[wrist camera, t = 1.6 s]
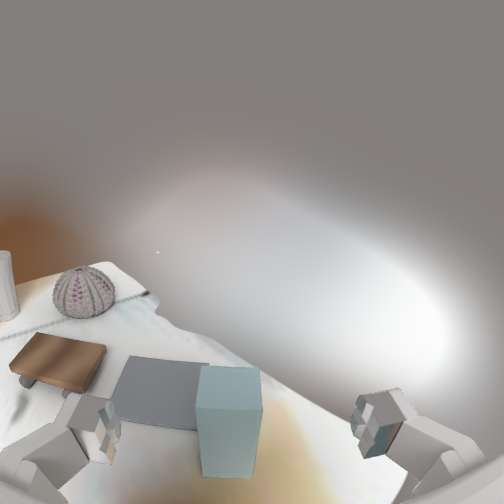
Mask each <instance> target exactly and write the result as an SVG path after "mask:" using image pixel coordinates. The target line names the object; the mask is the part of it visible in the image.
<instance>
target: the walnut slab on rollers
mask: <svg viewBox="0 0 504 504" xmlns="http://www.w3.org/2000/svg"><path fill="white" fill-rule="evenodd" d="M106 352H107V350H106V346H105V345H102V344H96V343H90V342H84V341H79V340H73V339H68V338H63V337H58V336H53V335H48V334H44V333H39V332H36V334H35V335H34V336H33V337H32V338H31V339H30V340H29V342H28V343H27V344H26V345H25V346H24V347H23V349H22V350H21V351H20V352H19V353H18V354H17V356H16V357H15V358H14V359H13V361H12V362H11V363H10V364H9V367H10V369H11V371H12V372H14V373H17V374H20V375H21V376H20V378H19V382H20V383H21V385H22V386H24V387H25V388H27V389H29V388H30V387H31V385H32V384H33V382H34V381H35V380H38V381H41V382H44V383H48V384H51V385H55V386H58V387H62V388H65V389H64V391H63V393H62V394H63V396H64V398H65V399H67V397H68V395H69V394H70V393H72V392H73V393H77V394H80V392H82V393H85V391H86V389H87V387H88V385H89V384H90V382H91V380H92V378H93V376H94V374H95V372H96V370H97V369H98V367H99V365H100V363H101V361H102V359H103V358H104V356H105V354H106Z"/></svg>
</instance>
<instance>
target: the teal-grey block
mask: <svg viewBox="0 0 504 504" xmlns="http://www.w3.org/2000/svg"><path fill="white" fill-rule="evenodd" d="M195 411H196V422H197V432H198V441H199V450H200V459H201V467H202V475H203V477H216V478H245V479H252V476H253V470H254V464H255V457H256V451H257V445H258V439H259V432H260V425H261V419H262V412H263V407H262V395H261V384H260V372H259V368H243V367H220V366H204V365H201V371H200V377H199V384H198V391H197V398H196V405H195Z"/></svg>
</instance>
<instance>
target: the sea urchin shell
mask: <svg viewBox="0 0 504 504" xmlns="http://www.w3.org/2000/svg"><path fill="white" fill-rule="evenodd" d="M114 288H115V286H113V283H112V282H111V280H110V279H109V278H108V277H107V276H106V275H105V274H104V273H102V271H99V270H98V269H95V268H91V267H88V266H86V265H85V266H83V265H81V266H78V267H76V268H73V269H70V270H68V271H66V272H64V273H63V274H62V275H61V276H60V278H59V279H58V281H57V283H56V284H55V288H54V291H53V292H54V293H53V301H54V302H53V303H54V304H55V307H56V308H57V309H58V310H59V311H60V312H61V313H63V314H65V315H67V316H73V317H74V318H83V317H84V318H90V317H91V316H92V315H95V316H96V315H97V314H101V313H102V312H103V311H106V310H107V309H109V307H110V306H111V305H112V302H113V301H114V299H113V298H114V297H115V295H114V292H115V290H114Z"/></svg>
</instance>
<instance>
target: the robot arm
mask: <svg viewBox="0 0 504 504" xmlns="http://www.w3.org/2000/svg"><path fill="white" fill-rule="evenodd" d="M356 405H357V407H358V408H357V409H356V410H355V411H353V413H352V416H351V429H352V432H353V435H354V436H355V437H356V438H358V439H359V440H360V441H359V444H358V447H359V449H360V451H361V454H362V456H363V458H364V459H367V458H371V457H376V456H380V455H384V454H386V456H387V457H389V458H390V459H391V460H393V461H394V462H395V463H397V464H398V465H399V466H401V467H402V468H404V469H405V470H406V471H408V472H409V473H411V474H412V475H413V476H415V477H416V478H418V479H419V480H421V481H420V482H419V484H418V485H417V486H416V487H415V488H414V490H413V491H412V494H413V496H414V498H413V499H411V500H408V501H406V502H403V503H400V504H504V452H503V453H501V454H500V455H498V456H496V457H495V458H493V459H492V460H490V461H487V459H486V458H485V456H484V455H483V453H482V452H481V451H480V449H479V448H478V446H477V445H476V444H475V442H474V441H473V439H471V438H469V437H467V436H464V435H462V434H460V433H458V432H456V431H453V430H451V429H449V428H447V427H445V426H443V425H441V424H438V423H436V422H434V421H432V420H430V419H428V418H426V417H424V416H421V417H419V415H418V414H417V412H416V411H415V409H414V408H413V406H412V405H411V403H410V402H409V401H408V399H407V398H406V396H405V395H404V394H403V392H402V390H401V389H399V388H394V389H390V390H386V391H380V392H375V393H370V394H365V395H360V396H359V397H358V398H357V401H356ZM114 408H115V406H114V404H113V401H112V400H110V399H104V398H99V397H93V396H88V395H82V394H77V393H73V392H72V393H70V394H69V395H68V397H67V399H66V400H65V402H64V404H63V406H62V408H61V410H60V412H59V413H58V415H57V417H56V419H55V421H54V423H53V424H52V423H49V424H47V425H45V426H43V427H42V428H40V429H38V430H36V431H35V432H33V433H31V434H29V435H28V436H26V437H24V438H22V439H21V440H19V441H17V442H15V443H13V444H12V445H10V446H8V447H6V448H4V449H3V451H2V452H1V454H0V504H68V501H67V500H66V498H65V497H64V496H63V495H62V494H61V493H60V492H59V491H58V489H59V488H60V487H62V486H63V485H64V484H65V483H66V482H67V481H69V480H70V479H71V478H72V477H73V476H74V475H75V474H77V473H78V472H79V471H80V470H81V469H82V468H83V467H84V466H86V465H87V464H88V463H89V461H93V462H98V463H104V464H109V465H112V462H113V459H114V455H115V452H116V450H115V448H114V444H115V443H116V442H118V441H119V438H120V435H121V424H120V420H119V417H118V415H116V414H115V413H114V412H113V411H114Z"/></svg>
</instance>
